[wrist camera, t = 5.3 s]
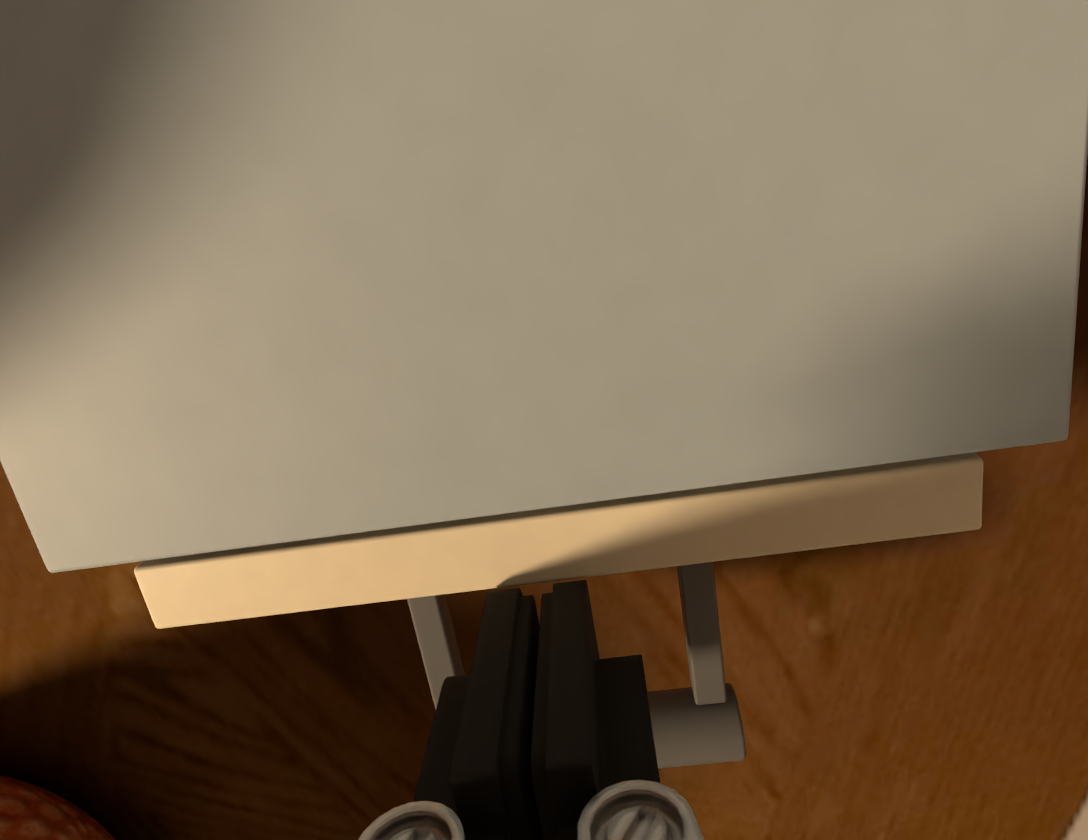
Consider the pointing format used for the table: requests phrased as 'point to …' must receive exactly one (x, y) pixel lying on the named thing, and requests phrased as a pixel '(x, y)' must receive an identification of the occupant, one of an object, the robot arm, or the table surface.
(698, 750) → the drawer
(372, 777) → the table surface
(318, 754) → the table surface
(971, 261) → the grey cabinet
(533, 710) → the robot arm
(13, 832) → the planter
